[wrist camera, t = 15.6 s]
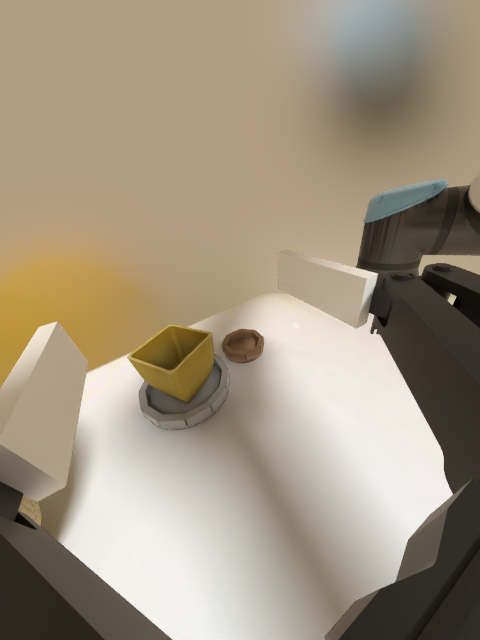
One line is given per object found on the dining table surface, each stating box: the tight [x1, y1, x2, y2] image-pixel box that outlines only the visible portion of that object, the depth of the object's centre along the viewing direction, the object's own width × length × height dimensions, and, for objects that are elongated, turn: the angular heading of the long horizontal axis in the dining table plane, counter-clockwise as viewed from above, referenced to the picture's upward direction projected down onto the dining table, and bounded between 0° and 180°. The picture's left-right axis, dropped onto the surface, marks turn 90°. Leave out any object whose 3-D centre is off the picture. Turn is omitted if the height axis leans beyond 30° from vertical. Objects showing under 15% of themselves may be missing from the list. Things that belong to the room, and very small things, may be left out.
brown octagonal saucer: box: [222, 329, 264, 363], centre depth 41 cm, size 8×8×2 cm
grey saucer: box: [139, 354, 229, 430], centre depth 34 cm, size 14×14×2 cm
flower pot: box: [127, 324, 214, 403], centre depth 32 cm, size 9×9×9 cm
